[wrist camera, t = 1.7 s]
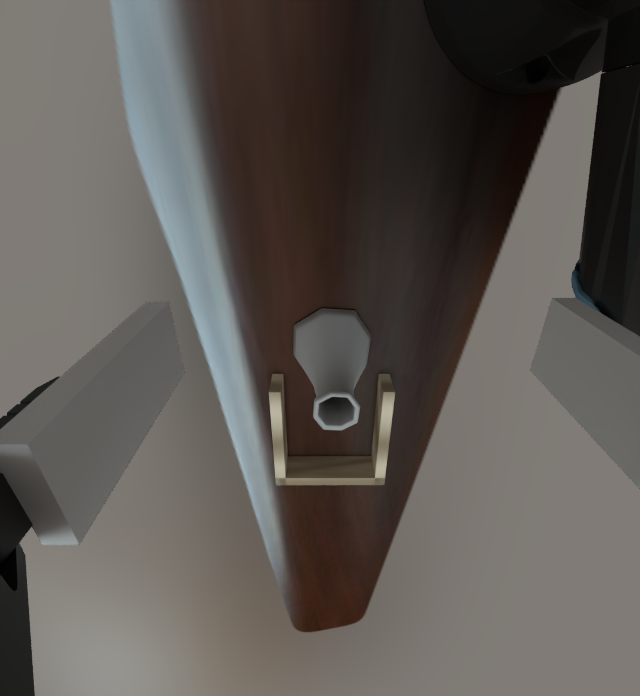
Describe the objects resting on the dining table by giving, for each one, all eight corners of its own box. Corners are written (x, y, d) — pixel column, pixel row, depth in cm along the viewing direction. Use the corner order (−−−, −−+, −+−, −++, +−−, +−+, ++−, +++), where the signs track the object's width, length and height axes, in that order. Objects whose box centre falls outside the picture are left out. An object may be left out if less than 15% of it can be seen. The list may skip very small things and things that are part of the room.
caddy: (272, 373, 35) (268, 392, 32) (389, 373, 35) (395, 392, 32) (279, 463, 40) (276, 485, 38) (379, 462, 40) (384, 484, 38)
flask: (378, 367, 35) (398, 442, 26) (303, 383, 35) (299, 461, 27) (362, 296, 31) (380, 354, 23) (281, 316, 32) (267, 380, 23)
